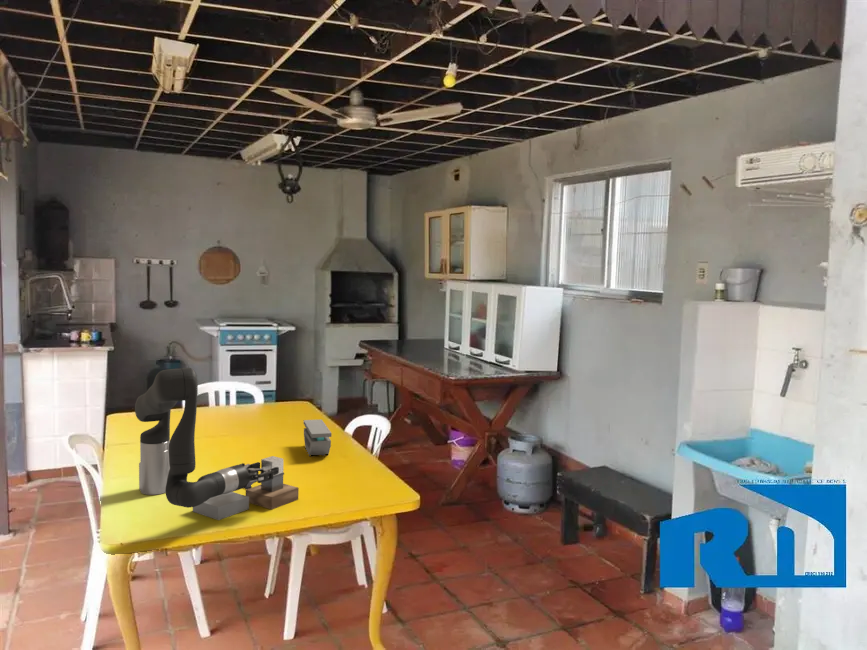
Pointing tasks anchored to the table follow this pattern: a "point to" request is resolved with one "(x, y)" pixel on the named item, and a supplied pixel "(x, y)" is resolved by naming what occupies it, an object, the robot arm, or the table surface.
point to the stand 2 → (272, 496)
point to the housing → (277, 479)
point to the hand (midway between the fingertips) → (268, 467)
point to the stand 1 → (223, 505)
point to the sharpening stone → (316, 437)
